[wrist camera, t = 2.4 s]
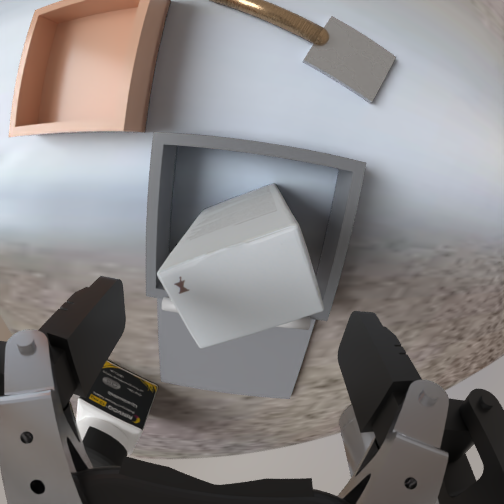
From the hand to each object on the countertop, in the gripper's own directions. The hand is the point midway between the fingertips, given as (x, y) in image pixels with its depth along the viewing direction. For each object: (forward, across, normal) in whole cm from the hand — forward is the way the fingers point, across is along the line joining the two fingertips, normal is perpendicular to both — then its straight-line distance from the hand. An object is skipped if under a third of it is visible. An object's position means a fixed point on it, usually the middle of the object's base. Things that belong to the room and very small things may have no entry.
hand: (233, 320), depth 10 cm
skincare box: (+14, 0, 0) cm, 14 cm away
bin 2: (+14, 0, +6) cm, 15 cm away
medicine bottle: (+14, +12, +22) cm, 29 cm away
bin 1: (+14, +15, -12) cm, 24 cm away
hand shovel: (+14, -2, -16) cm, 21 cm away
